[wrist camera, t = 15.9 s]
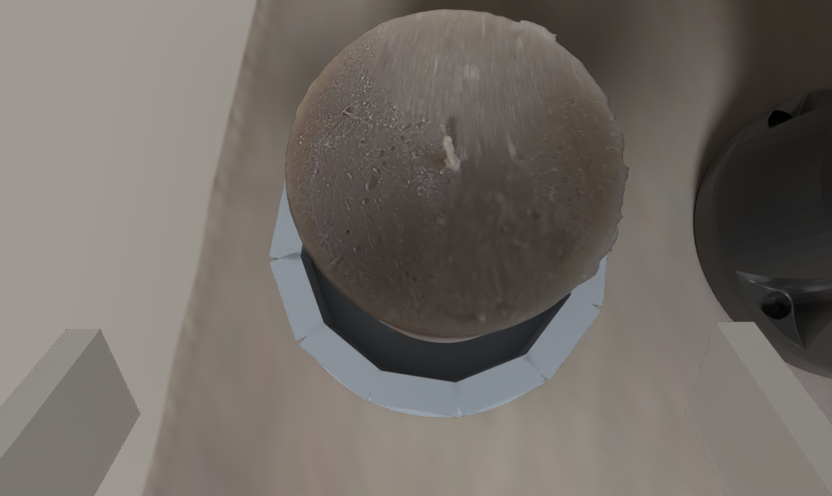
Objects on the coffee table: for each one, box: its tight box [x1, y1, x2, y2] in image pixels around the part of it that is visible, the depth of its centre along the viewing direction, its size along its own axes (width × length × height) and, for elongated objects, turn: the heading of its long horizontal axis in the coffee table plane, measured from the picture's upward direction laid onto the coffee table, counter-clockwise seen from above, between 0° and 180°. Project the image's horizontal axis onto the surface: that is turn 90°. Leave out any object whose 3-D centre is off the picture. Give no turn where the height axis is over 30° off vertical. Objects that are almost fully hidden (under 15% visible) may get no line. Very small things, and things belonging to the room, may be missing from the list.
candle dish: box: [269, 179, 607, 417], centre depth 28 cm, size 17×17×4 cm
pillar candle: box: [285, 9, 629, 343], centre depth 21 cm, size 10×10×15 cm
